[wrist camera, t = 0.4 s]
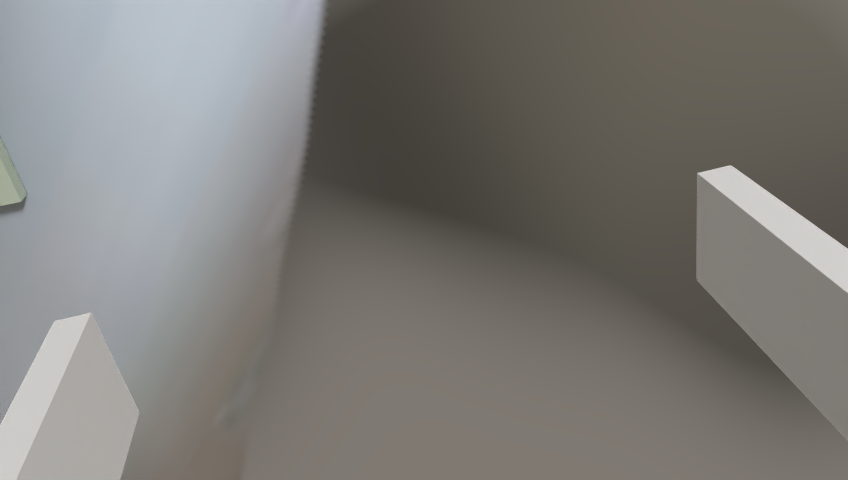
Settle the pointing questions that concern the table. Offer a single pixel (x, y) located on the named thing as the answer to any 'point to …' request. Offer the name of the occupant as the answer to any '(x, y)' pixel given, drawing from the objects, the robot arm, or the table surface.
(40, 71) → the table surface
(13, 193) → the peg stand
